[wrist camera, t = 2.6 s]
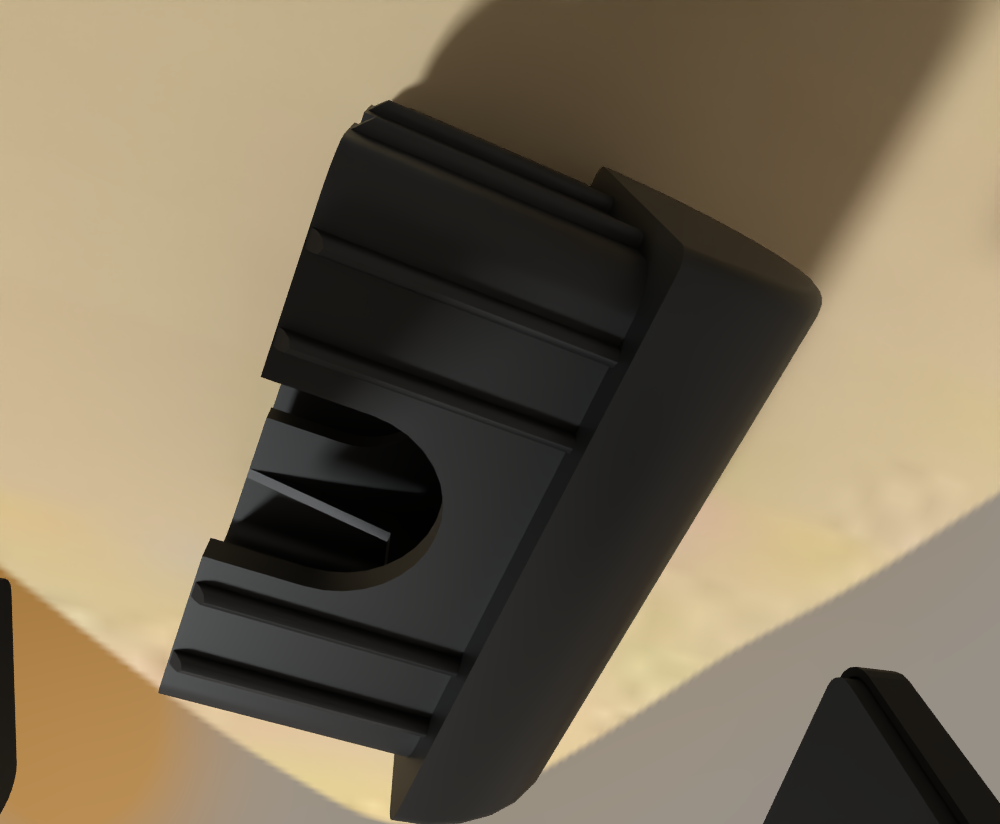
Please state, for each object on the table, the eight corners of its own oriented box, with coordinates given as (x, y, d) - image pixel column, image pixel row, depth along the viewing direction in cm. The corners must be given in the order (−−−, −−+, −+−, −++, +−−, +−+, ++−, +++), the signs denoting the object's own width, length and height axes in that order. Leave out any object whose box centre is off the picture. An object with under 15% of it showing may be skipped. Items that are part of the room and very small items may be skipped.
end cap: (529, 607, 20) (563, 869, 14) (237, 517, 18) (130, 766, 12) (737, 220, 16) (911, 346, 10) (390, 67, 15) (344, 103, 8)
